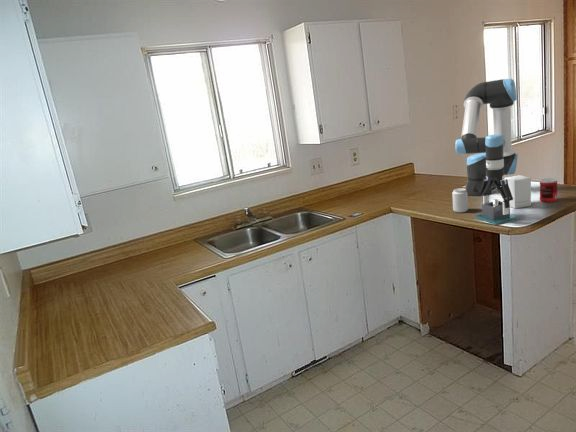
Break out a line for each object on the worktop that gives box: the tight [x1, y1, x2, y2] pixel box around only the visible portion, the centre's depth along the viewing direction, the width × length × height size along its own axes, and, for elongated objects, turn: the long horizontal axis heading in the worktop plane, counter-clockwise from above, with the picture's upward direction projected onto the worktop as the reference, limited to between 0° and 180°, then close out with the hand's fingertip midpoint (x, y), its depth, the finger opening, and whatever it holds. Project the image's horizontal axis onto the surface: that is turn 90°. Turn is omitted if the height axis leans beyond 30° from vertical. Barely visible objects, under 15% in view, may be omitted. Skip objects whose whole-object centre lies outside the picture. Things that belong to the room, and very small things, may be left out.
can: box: [451, 187, 469, 214], centre depth 225 cm, size 8×8×12 cm
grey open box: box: [481, 200, 511, 220], centre depth 206 cm, size 8×9×6 cm
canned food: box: [539, 177, 558, 203], centre depth 220 cm, size 8×8×11 cm
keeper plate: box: [475, 199, 518, 226], centre depth 206 cm, size 14×12×10 cm
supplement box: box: [503, 174, 532, 209], centre depth 220 cm, size 9×9×15 cm
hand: (495, 211), depth 206 cm, fingers open, 13 cm apart
